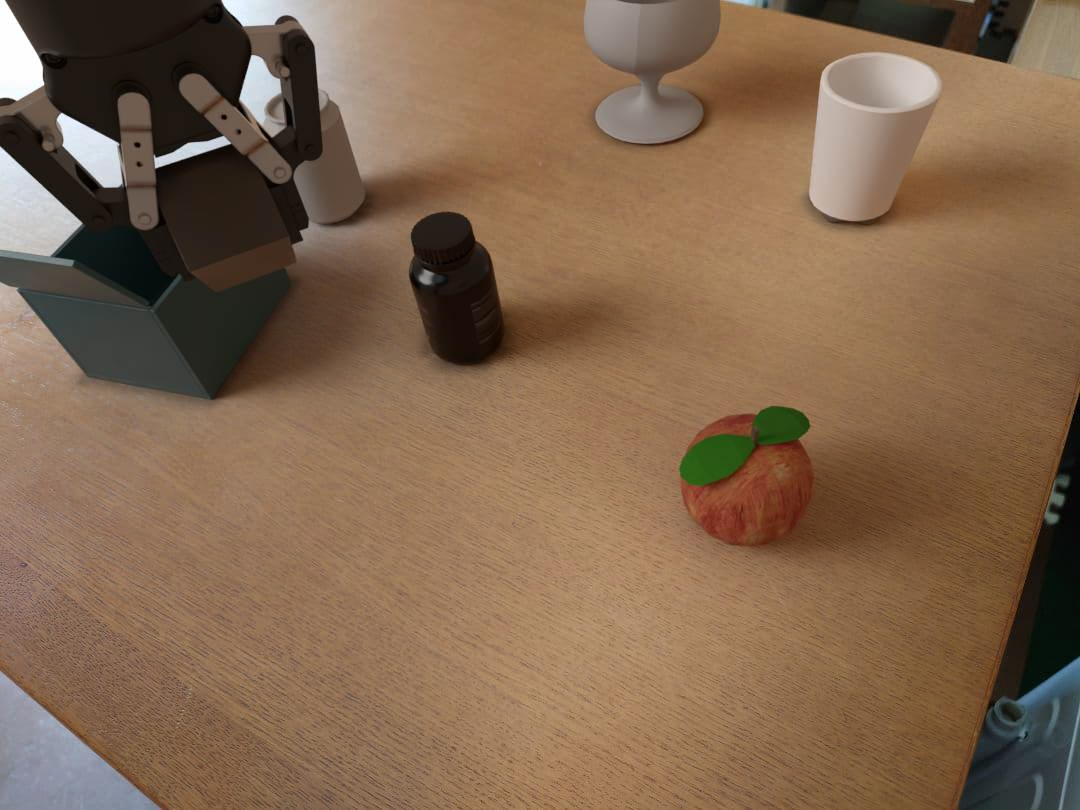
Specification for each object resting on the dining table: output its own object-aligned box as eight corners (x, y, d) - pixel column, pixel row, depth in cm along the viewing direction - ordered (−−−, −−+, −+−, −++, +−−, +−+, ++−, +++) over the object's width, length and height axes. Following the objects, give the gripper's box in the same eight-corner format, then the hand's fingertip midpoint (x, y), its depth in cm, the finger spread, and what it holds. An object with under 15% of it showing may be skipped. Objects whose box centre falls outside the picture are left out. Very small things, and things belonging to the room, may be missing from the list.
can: (381, 193, 83) (350, 88, 74) (339, 235, 79) (301, 129, 70) (326, 179, 86) (290, 75, 77) (283, 219, 82) (239, 114, 73)
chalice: (695, 159, 82) (707, 15, 71) (571, 143, 86) (562, 4, 75) (723, 91, 90) (737, -48, 79) (607, 79, 94) (605, -55, 83)
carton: (211, 399, 66) (154, 311, 58) (87, 377, 70) (15, 290, 61) (292, 282, 75) (251, 192, 67) (178, 267, 78) (126, 178, 70)
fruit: (829, 541, 53) (864, 457, 46) (703, 589, 52) (717, 511, 44) (765, 447, 59) (786, 357, 51) (649, 488, 57) (652, 403, 49)
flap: (150, 301, 58) (147, 308, 58) (11, 280, 61) (9, 286, 61) (75, 259, 51) (72, 266, 51) (-77, 238, 54) (-80, 245, 54)
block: (215, 293, 46) (188, 272, 37) (178, 212, 45) (142, 171, 36) (297, 262, 47) (289, 235, 38) (262, 183, 46) (246, 137, 37)
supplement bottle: (491, 302, 71) (471, 192, 62) (516, 352, 67) (498, 242, 58) (420, 325, 70) (388, 217, 61) (440, 377, 66) (410, 269, 57)
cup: (906, 240, 72) (950, 113, 62) (795, 233, 74) (821, 109, 64) (897, 176, 78) (937, 51, 68) (795, 171, 80) (819, 50, 70)
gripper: (-163, -24, 24) (115, 349, 37) (281, -135, 27) (392, 244, 41) (-145, -94, 29) (97, 262, 42) (235, -182, 32) (349, 174, 45)
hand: (242, 252), depth 41 cm, fingers closed on block, 5 cm apart
